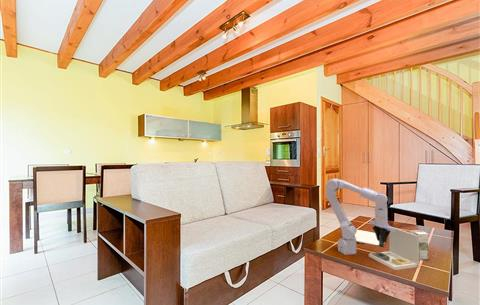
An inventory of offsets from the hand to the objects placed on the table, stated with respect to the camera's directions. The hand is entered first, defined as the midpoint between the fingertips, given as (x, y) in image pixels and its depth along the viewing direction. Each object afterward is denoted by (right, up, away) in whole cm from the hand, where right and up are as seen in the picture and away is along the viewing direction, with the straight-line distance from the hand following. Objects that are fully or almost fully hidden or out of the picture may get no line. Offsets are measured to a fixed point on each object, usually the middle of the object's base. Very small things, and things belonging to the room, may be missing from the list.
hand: (381, 241), depth 123 cm
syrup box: (+23, -11, +4) cm, 26 cm away
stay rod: (0, -3, 0) cm, 3 cm away
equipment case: (+3, -10, -3) cm, 11 cm away
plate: (+9, -12, +34) cm, 37 cm away
